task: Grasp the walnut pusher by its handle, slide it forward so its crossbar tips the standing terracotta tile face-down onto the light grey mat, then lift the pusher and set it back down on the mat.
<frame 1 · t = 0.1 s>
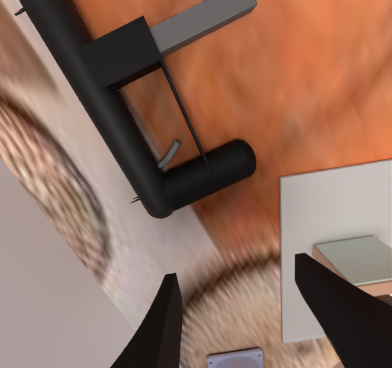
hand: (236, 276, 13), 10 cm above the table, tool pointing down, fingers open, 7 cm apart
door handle: (173, 90, 19), on the table
mat: (337, 263, 26), on the table
tile: (342, 245, 24), resting on mat
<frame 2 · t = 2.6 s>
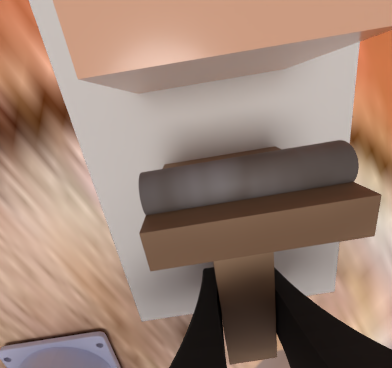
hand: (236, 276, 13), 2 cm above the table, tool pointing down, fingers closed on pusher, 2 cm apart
pusher: (230, 243, 13), resting on mat, touching gripper
mat: (215, 129, 11), on the table
tile: (208, 65, 10), resting on mat
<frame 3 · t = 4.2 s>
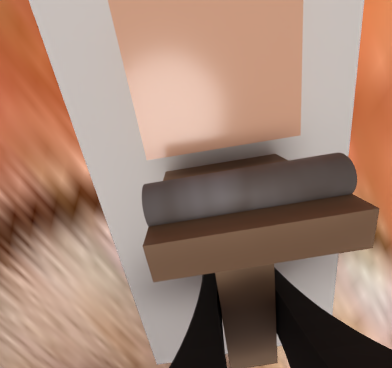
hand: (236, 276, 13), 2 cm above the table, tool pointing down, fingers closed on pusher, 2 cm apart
pusher: (230, 249, 13), resting on mat, touching gripper
mat: (225, 212, 13), on the table
tile: (220, 145, 10), point 1 cm above the table, tilted 90°, touching mat
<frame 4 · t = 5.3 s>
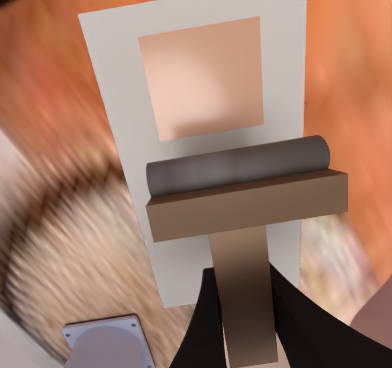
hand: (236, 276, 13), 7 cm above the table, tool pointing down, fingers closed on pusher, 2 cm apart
pusher: (229, 247, 14), point 5 cm above the table, tilted 8°, touching gripper
mat: (215, 183, 18), on the table
tile: (210, 131, 15), point 1 cm above the table, tilted 90°, touching mat
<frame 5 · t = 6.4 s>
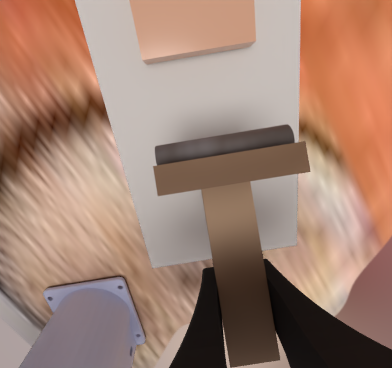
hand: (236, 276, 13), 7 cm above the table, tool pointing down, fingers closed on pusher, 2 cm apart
pusher: (229, 250, 15), point 5 cm above the table, tilted 22°, touching gripper
mat: (205, 122, 16), on the table
tile: (198, 53, 13), point 1 cm above the table, tilted 90°, touching mat
when the fingers open (3 cm above the table, at t = 7.2 s): pusher drops 1 cm, resting on mat.
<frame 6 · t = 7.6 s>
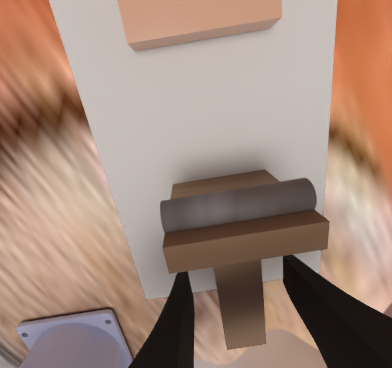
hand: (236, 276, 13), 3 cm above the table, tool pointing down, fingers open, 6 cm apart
pusher: (227, 249, 16), resting on mat
mat: (211, 126, 13), on the table
tile: (203, 35, 10), point 1 cm above the table, tilted 90°, touching mat
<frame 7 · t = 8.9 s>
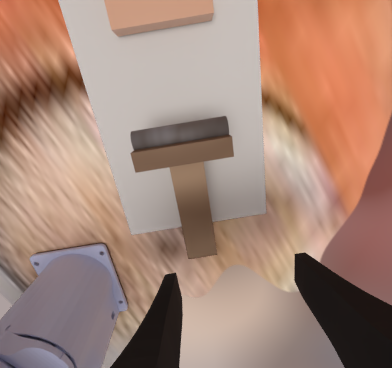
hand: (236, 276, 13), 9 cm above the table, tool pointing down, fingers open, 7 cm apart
pusher: (193, 191, 20), resting on mat
mat: (176, 93, 18), on the table
tile: (163, 25, 15), point 1 cm above the table, tilted 90°, touching mat
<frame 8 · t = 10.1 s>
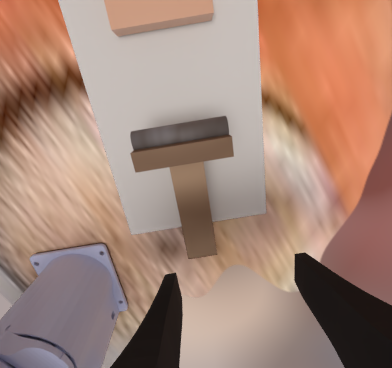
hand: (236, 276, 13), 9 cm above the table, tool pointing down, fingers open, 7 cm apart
pusher: (192, 191, 20), resting on mat
mat: (175, 93, 18), on the table
tile: (163, 25, 15), point 1 cm above the table, tilted 90°, touching mat
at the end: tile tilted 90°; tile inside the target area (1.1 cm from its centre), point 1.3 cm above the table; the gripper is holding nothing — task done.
